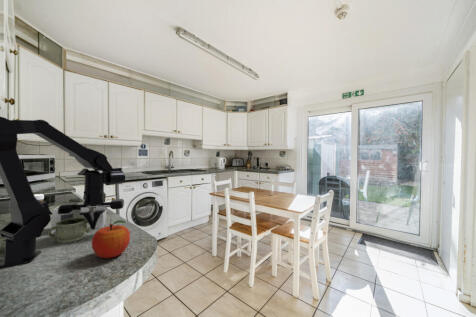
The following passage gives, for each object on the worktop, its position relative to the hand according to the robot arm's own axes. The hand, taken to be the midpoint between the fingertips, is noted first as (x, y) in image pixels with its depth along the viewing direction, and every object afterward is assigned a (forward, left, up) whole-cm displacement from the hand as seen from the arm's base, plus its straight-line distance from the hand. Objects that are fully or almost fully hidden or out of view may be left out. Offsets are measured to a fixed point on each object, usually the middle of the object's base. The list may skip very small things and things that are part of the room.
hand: (93, 229), depth 69 cm
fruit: (-19, -8, -3) cm, 21 cm away
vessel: (+1, +6, -3) cm, 7 cm away
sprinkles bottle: (+20, +23, -3) cm, 31 cm away
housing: (+13, +7, -3) cm, 15 cm away
